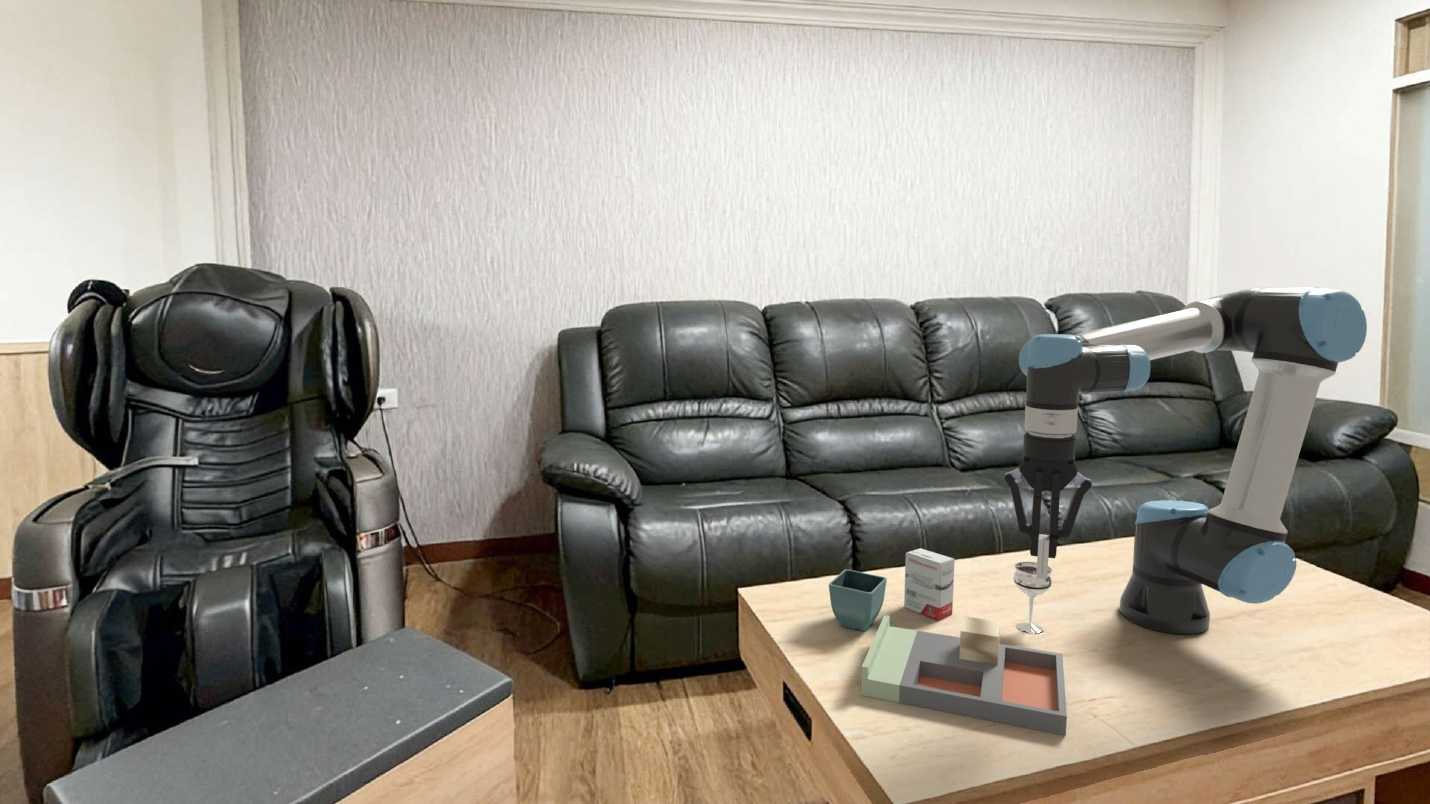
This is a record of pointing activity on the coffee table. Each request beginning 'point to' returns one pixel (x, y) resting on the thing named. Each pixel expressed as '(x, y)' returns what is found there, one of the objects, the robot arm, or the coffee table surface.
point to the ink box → (929, 583)
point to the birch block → (979, 640)
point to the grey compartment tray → (966, 679)
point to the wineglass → (1031, 590)
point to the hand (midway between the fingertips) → (1041, 575)
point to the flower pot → (857, 598)
